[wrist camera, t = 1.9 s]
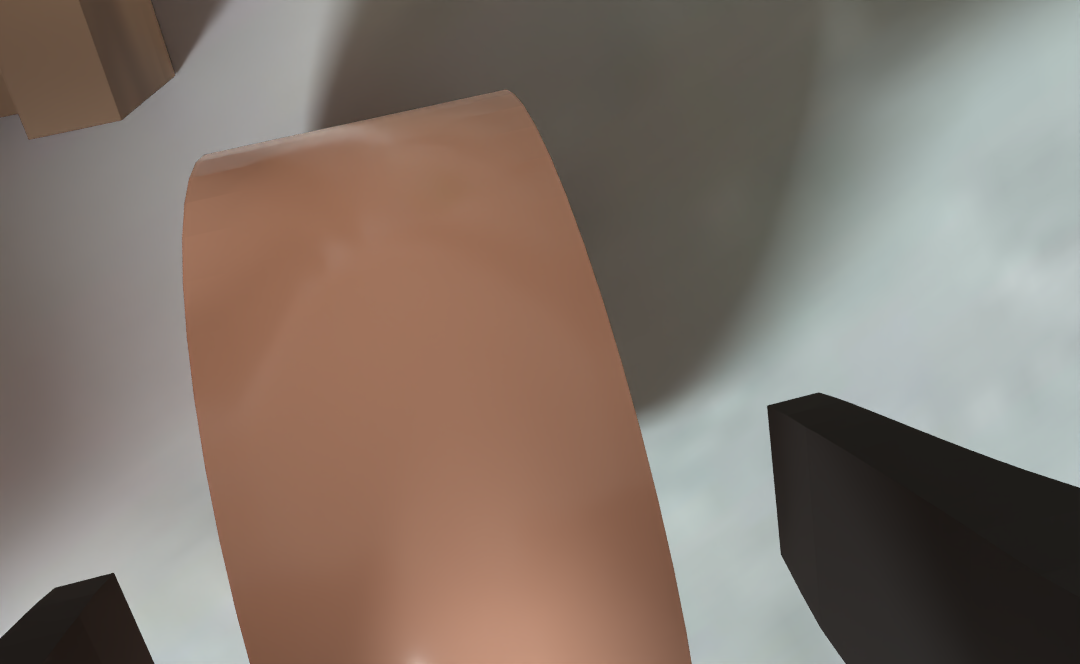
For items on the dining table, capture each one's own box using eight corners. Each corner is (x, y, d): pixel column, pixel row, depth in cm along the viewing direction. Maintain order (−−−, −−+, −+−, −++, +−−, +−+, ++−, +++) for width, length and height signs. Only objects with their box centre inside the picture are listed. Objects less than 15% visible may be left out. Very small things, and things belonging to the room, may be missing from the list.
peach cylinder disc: (563, 529, 18) (742, 1005, 10) (383, 578, 18) (418, 1110, 10) (466, 50, 15) (622, 189, 7) (236, 98, 14) (100, 311, 6)
